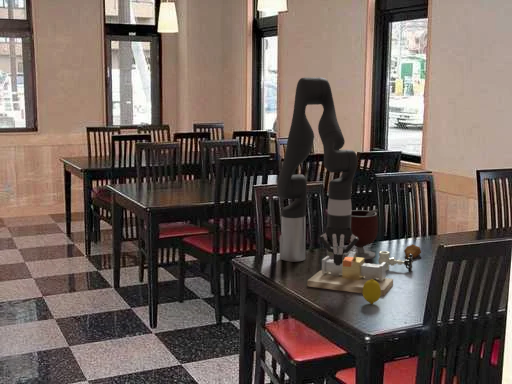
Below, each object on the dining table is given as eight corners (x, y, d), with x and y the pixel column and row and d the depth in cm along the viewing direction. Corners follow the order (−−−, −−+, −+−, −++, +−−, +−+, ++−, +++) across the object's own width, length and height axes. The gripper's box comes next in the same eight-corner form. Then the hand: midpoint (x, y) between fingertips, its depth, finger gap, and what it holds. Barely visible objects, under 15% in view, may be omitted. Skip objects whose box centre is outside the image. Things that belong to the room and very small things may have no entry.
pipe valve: (321, 275, 217) (321, 253, 216) (327, 271, 222) (327, 249, 221) (381, 283, 208) (382, 259, 207) (385, 278, 214) (386, 255, 212)
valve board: (307, 286, 212) (307, 280, 212) (320, 275, 224) (320, 270, 223) (383, 296, 201) (383, 290, 201) (393, 284, 213) (393, 278, 213)
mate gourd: (334, 255, 251) (335, 205, 248) (357, 249, 260) (358, 201, 257) (365, 262, 240) (366, 211, 236) (387, 256, 248) (389, 206, 245)
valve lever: (350, 253, 216) (350, 247, 215) (358, 253, 215) (358, 248, 215) (342, 266, 200) (343, 260, 199) (351, 266, 199) (351, 261, 199)
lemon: (360, 301, 197) (360, 276, 195) (377, 300, 197) (378, 276, 196) (364, 307, 191) (365, 282, 190) (382, 306, 192) (383, 281, 190)
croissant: (418, 261, 241) (418, 249, 240) (400, 260, 244) (400, 247, 243) (424, 253, 253) (424, 241, 252) (407, 251, 256) (407, 239, 255)
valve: (376, 271, 229) (410, 274, 225) (377, 254, 227) (411, 256, 224) (379, 266, 235) (412, 269, 231) (379, 249, 234) (413, 252, 230)
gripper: (317, 213, 198) (316, 266, 201) (359, 215, 195) (358, 269, 198) (320, 209, 205) (319, 260, 208) (361, 210, 202) (359, 263, 205)
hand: (338, 264), depth 203 cm, fingers closed
